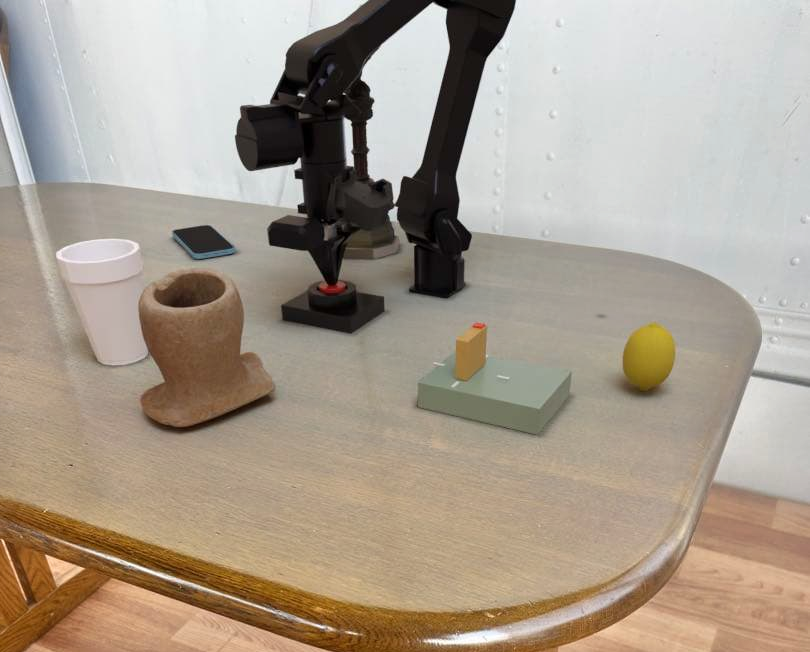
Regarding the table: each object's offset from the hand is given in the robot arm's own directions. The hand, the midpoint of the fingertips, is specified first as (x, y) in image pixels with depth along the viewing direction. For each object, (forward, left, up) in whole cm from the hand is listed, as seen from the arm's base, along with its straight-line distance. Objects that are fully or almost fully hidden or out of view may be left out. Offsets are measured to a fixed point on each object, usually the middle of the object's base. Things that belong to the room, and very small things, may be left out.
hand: (332, 284), depth 109 cm
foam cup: (-17, -23, -5) cm, 29 cm away
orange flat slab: (+27, -14, -1) cm, 30 cm away
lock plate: (+30, -14, -4) cm, 33 cm away
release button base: (0, 0, -4) cm, 4 cm away
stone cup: (+3, -29, -5) cm, 30 cm away
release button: (0, 0, -2) cm, 2 cm away
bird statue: (-12, +26, -5) cm, 29 cm away
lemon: (+44, -4, -5) cm, 44 cm away
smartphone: (-38, +18, -4) cm, 42 cm away
